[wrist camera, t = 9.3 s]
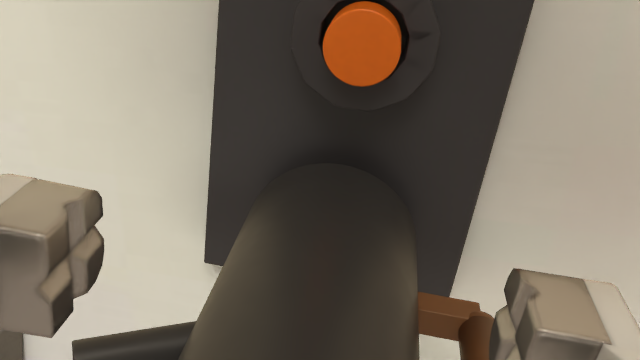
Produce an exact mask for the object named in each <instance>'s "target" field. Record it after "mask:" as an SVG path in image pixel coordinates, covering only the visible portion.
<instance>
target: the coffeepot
mask: <svg viewBox="0 0 640 360" xmlns="http://www.w3.org/2000/svg"><path fill="white" fill-rule="evenodd" d="M22 344H23V336H22V333H18V332H12V331H6V330H0V360H22Z"/></svg>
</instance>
